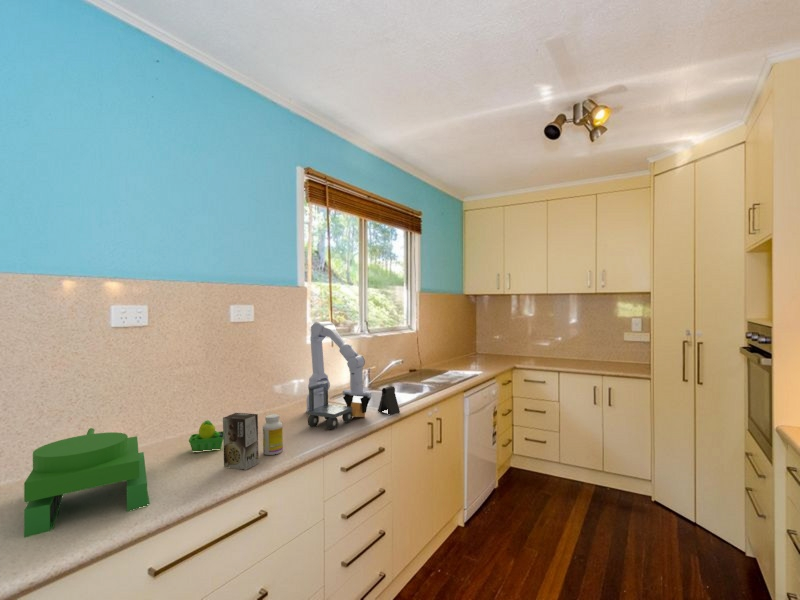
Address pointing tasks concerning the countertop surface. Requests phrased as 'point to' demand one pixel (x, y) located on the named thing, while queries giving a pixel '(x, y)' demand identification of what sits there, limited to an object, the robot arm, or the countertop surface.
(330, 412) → the trolley
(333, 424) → the trolley wheels
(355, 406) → the wheel chock
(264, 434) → the supplement bottle
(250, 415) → the coffee box
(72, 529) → the countertop surface
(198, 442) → the fruit basket
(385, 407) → the black triangular stand
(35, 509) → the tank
